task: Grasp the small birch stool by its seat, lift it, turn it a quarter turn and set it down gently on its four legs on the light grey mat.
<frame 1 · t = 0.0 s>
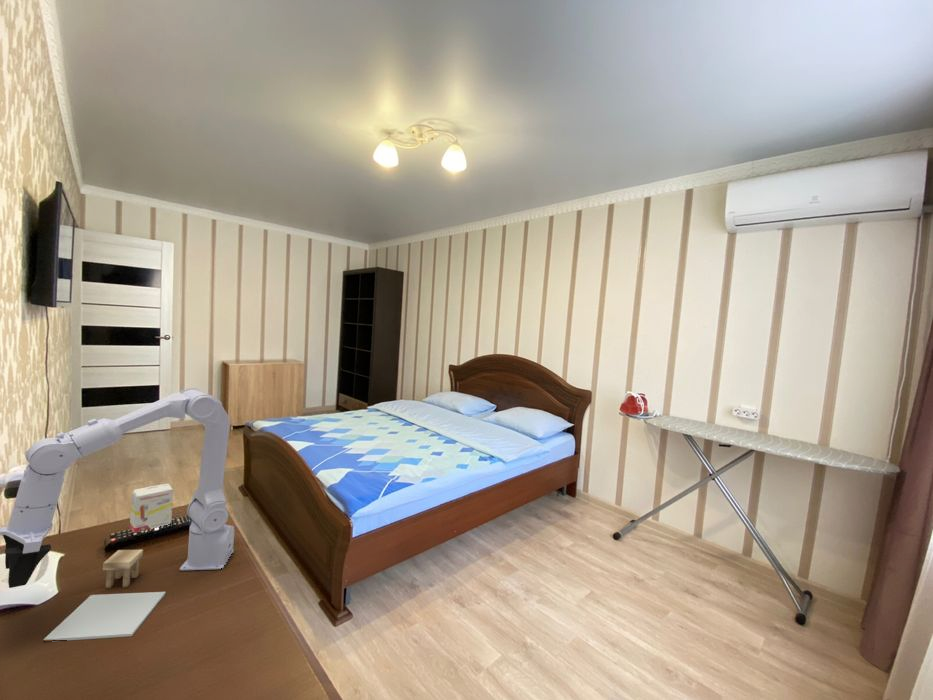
hand: (15, 576, 73), 11 cm above the table, tool pointing down, fingers open, 7 cm apart
birch stool: (122, 581, 89), on the table
light grey mat: (110, 615, 79), on the table
ink box: (150, 530, 110), on the table
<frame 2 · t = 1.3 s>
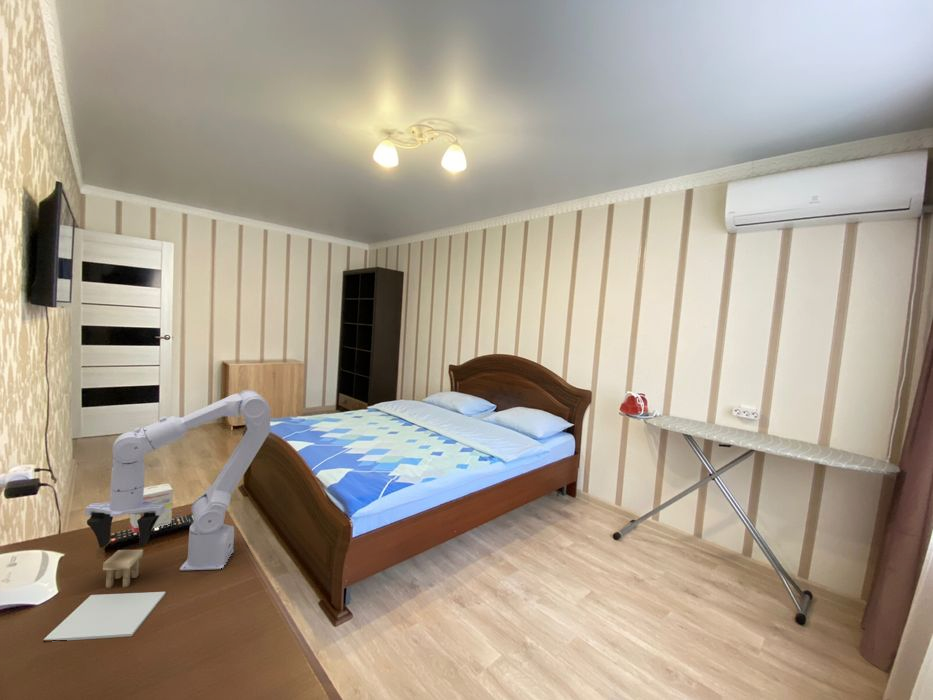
hand: (124, 544, 88), 9 cm above the table, tool pointing down, fingers open, 7 cm apart
nothing on the table moved.
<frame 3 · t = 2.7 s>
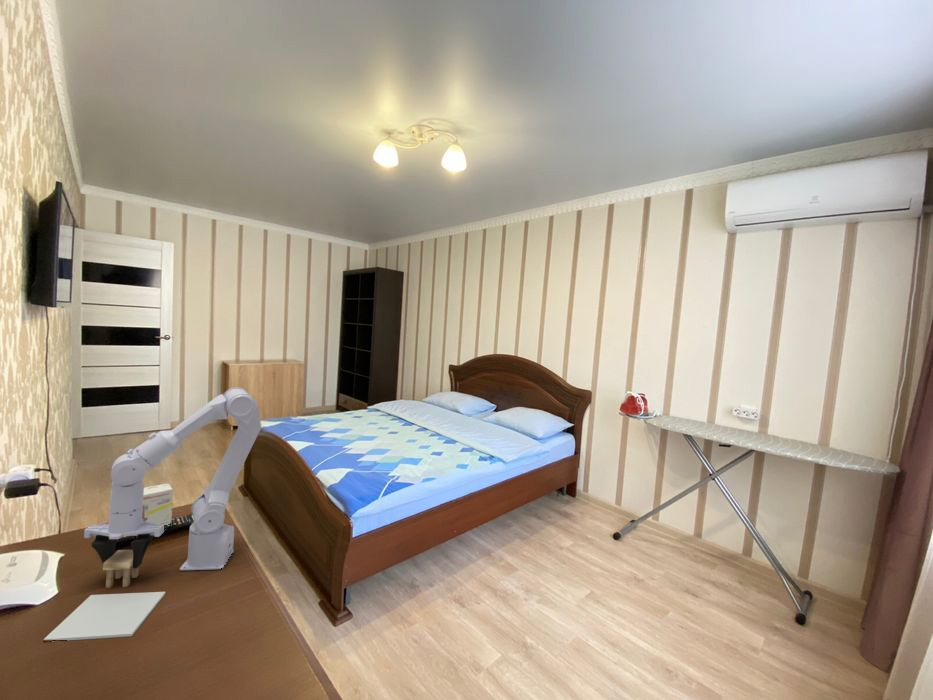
hand: (123, 566, 89), 4 cm above the table, tool pointing down, fingers closed on birch stool, 5 cm apart
birch stool: (122, 581, 89), on the table, touching gripper
everything else where it was.
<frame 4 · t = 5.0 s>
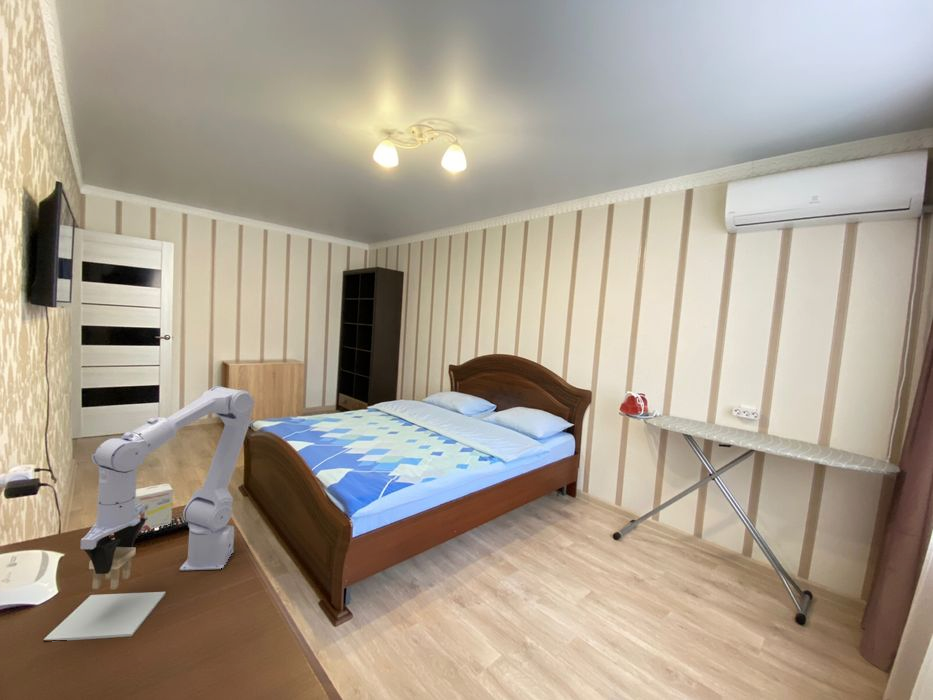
hand: (113, 564, 79), 10 cm above the table, tool pointing down, fingers closed on birch stool, 5 cm apart
birch stool: (111, 582, 79), point 7 cm above the table, touching gripper
everything else where it was.
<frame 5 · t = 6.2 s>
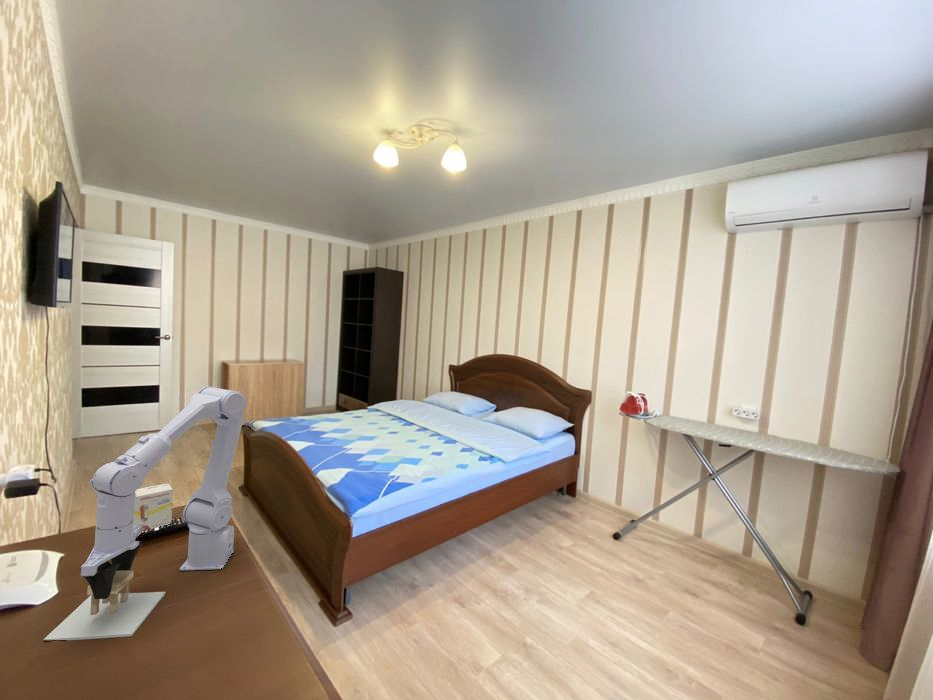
hand: (111, 588, 79), 6 cm above the table, tool pointing down, fingers closed on birch stool, 5 cm apart
birch stool: (109, 607, 79), point 2 cm above the table, touching gripper
everything else where it was.
when the fingers open (5 cm above the table, at t = 7.3 s): birch stool stays where it is, resting on light grey mat.
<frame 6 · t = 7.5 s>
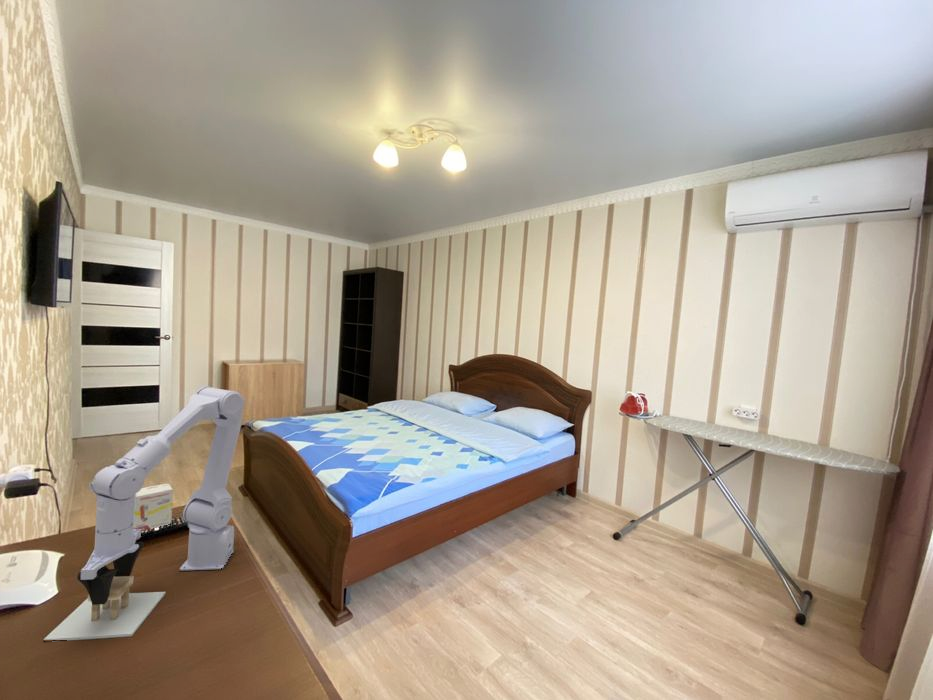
hand: (111, 591, 79), 5 cm above the table, tool pointing down, fingers open, 6 cm apart
birch stool: (110, 612, 79), point 1 cm above the table, touching light grey mat
everything else where it was.
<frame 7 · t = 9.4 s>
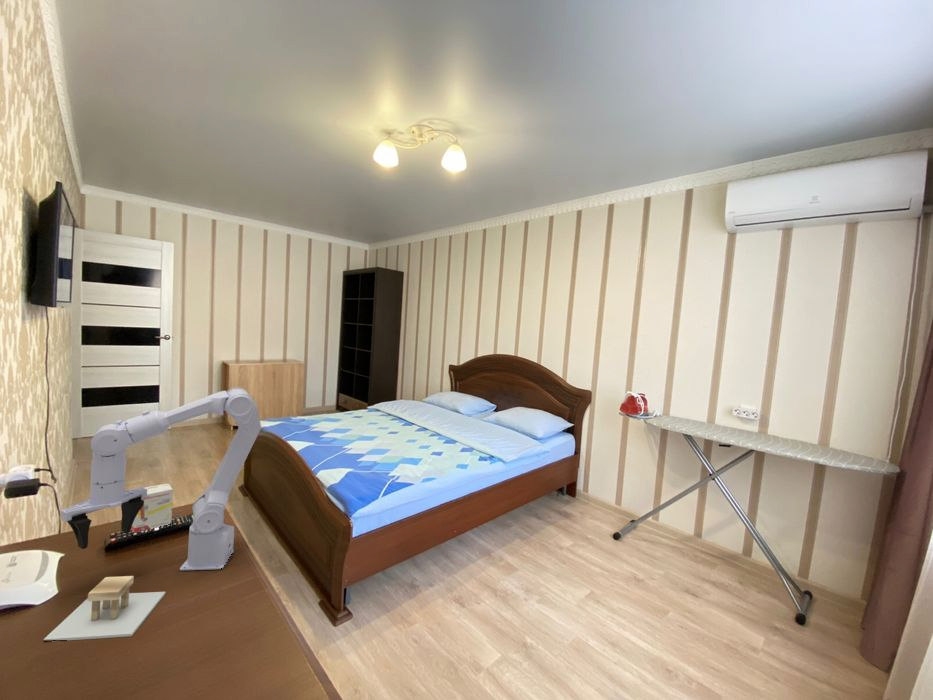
hand: (105, 539, 87), 10 cm above the table, tool pointing down, fingers open, 7 cm apart
nothing on the table moved.
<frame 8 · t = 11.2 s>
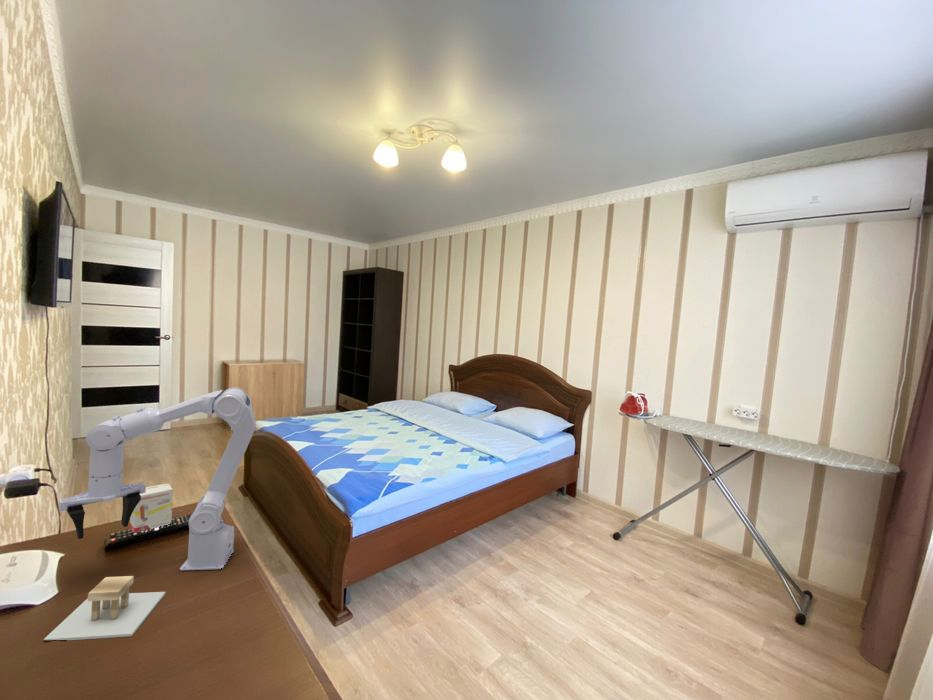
hand: (103, 530, 90), 10 cm above the table, tool pointing down, fingers open, 7 cm apart
nothing on the table moved.
at the end: birch stool 0.1 cm off-centre on the light grey mat, point 0.5 cm above the light grey mat's base; birch stool tilted 0°; the gripper is holding nothing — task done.
